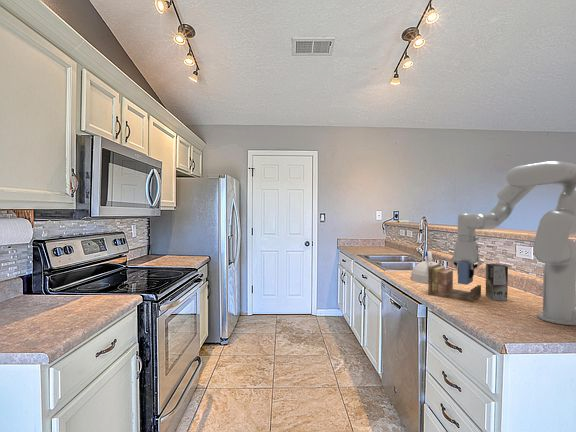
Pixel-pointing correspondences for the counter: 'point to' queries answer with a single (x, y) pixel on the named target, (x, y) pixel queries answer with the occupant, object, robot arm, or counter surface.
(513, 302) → the counter surface
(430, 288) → the book rack
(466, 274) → the navy book
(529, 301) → the counter surface
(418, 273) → the kettle
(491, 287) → the coffee box
